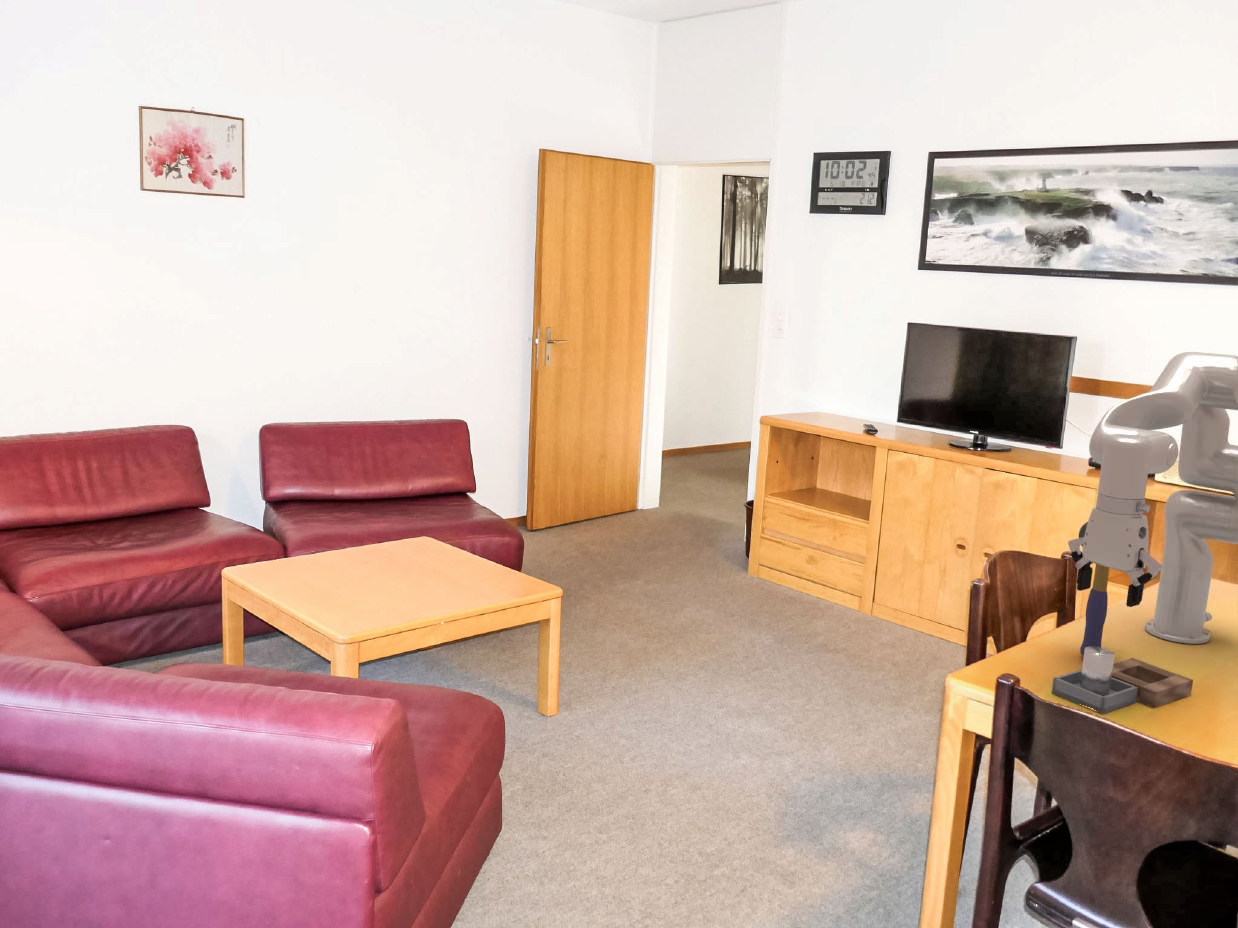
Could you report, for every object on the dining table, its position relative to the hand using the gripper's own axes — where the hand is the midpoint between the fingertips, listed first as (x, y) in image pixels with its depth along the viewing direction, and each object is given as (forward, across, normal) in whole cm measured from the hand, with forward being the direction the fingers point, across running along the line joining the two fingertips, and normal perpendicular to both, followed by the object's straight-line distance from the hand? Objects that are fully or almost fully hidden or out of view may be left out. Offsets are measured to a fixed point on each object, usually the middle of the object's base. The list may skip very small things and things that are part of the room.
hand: (1107, 597), depth 190 cm
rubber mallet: (+20, +12, -16) cm, 28 cm away
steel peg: (+18, 0, +1) cm, 18 cm away
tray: (+19, 0, +1) cm, 19 cm away
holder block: (+19, -2, -11) cm, 23 cm away
